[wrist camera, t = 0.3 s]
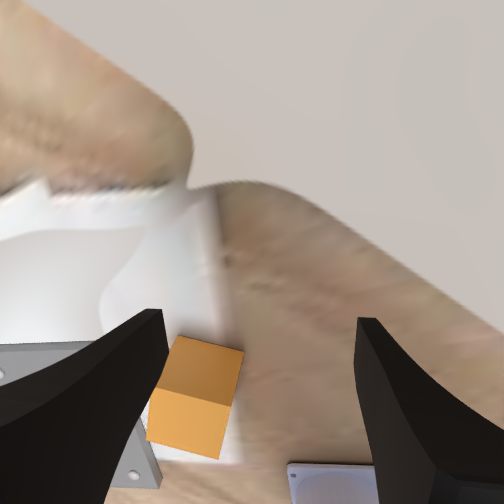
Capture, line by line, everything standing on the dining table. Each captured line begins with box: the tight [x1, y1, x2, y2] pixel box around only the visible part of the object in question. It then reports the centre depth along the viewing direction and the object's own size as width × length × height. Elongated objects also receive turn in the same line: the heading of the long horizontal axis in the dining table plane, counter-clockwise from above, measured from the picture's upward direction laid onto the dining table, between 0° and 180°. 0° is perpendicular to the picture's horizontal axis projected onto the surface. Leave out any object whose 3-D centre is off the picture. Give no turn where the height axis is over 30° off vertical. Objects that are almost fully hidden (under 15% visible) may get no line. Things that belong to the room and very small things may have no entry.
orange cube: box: [146, 335, 244, 460], centre depth 25 cm, size 5×5×5 cm
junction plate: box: [0, 341, 163, 489], centre depth 29 cm, size 16×12×4 cm
